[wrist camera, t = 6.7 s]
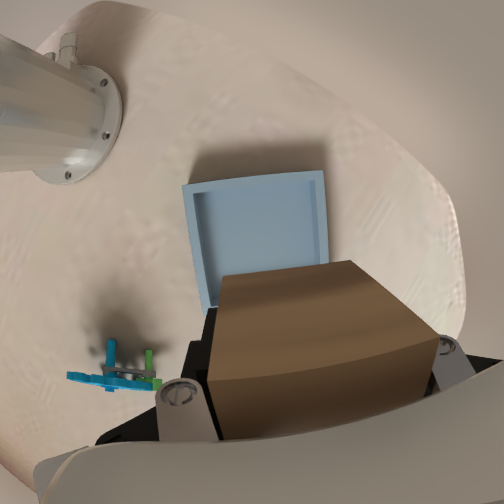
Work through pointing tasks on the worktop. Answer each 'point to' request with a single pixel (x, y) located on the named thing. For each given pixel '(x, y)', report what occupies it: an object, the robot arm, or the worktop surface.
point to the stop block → (313, 350)
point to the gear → (110, 372)
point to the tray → (255, 226)
